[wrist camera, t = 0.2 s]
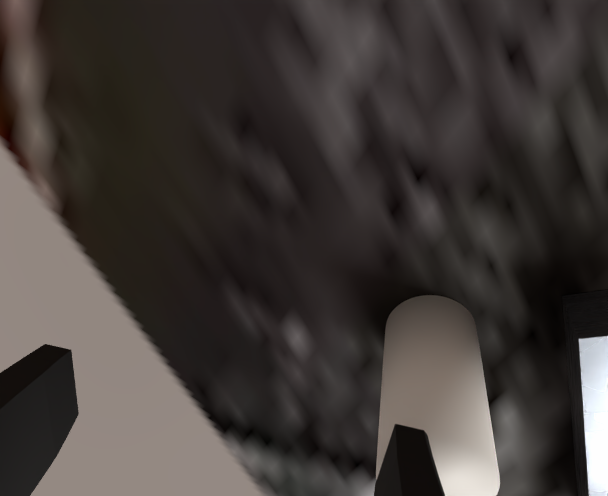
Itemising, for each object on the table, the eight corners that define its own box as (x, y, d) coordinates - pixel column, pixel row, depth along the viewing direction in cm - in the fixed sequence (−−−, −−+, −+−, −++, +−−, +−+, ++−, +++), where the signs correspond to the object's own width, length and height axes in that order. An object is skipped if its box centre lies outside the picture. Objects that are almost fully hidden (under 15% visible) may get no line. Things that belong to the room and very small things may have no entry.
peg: (481, 360, 23) (506, 516, 17) (395, 369, 24) (389, 519, 18) (469, 289, 21) (492, 434, 15) (377, 301, 22) (363, 442, 16)
